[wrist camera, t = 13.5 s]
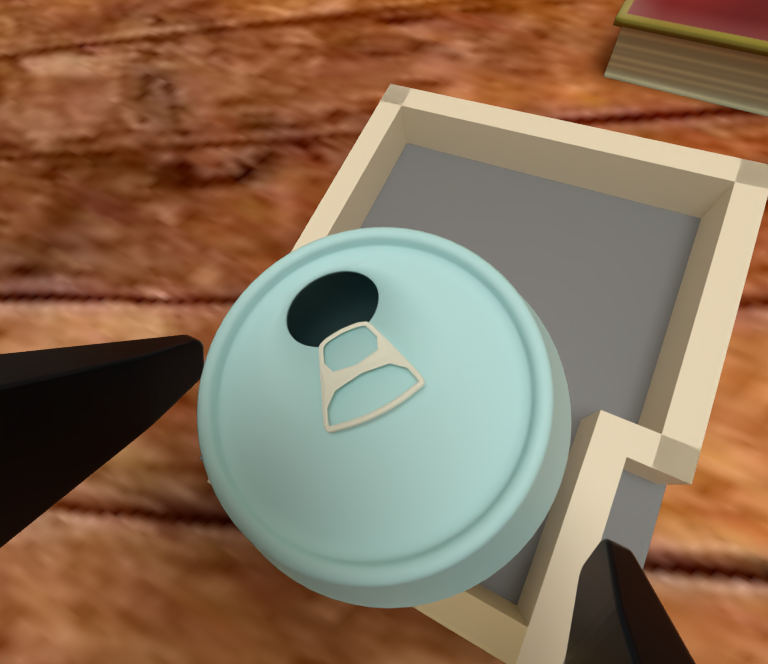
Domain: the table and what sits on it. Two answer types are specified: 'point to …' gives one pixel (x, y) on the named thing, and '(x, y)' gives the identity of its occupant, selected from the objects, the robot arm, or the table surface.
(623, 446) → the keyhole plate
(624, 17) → the hardcover book
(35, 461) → the robot arm
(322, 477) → the can
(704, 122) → the table surface
